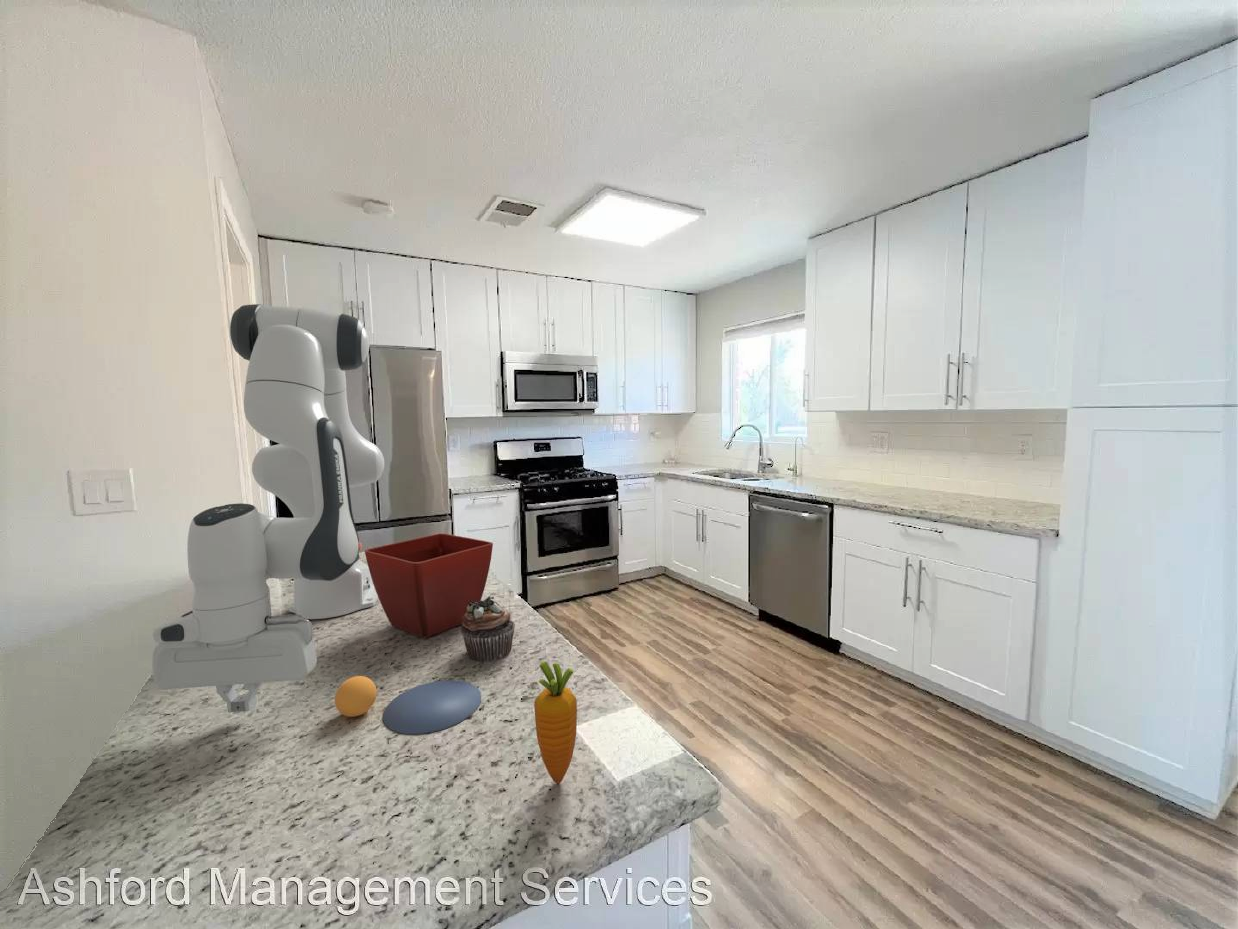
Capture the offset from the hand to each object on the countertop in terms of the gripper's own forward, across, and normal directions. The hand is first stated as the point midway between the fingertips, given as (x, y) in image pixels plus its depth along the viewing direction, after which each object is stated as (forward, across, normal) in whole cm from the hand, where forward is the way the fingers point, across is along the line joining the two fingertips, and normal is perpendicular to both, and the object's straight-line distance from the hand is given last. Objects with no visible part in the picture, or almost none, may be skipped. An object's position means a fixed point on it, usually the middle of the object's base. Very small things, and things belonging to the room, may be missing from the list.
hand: (242, 710), depth 73 cm
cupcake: (+2, -33, -17) cm, 37 cm away
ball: (-1, -16, +1) cm, 16 cm away
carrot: (+2, -46, +19) cm, 50 cm away
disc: (+2, -27, 0) cm, 27 cm away
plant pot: (+2, -19, -33) cm, 38 cm away
